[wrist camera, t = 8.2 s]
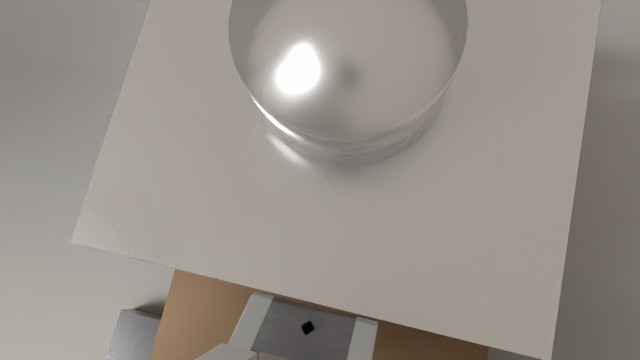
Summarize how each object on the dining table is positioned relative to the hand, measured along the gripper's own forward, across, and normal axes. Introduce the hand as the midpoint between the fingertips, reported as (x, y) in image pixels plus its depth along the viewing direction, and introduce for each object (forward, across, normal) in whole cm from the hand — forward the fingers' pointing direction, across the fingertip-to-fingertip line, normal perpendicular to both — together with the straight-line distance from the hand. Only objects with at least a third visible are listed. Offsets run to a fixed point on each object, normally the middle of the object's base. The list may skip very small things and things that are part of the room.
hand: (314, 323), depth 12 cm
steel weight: (+6, 0, 0) cm, 6 cm away
